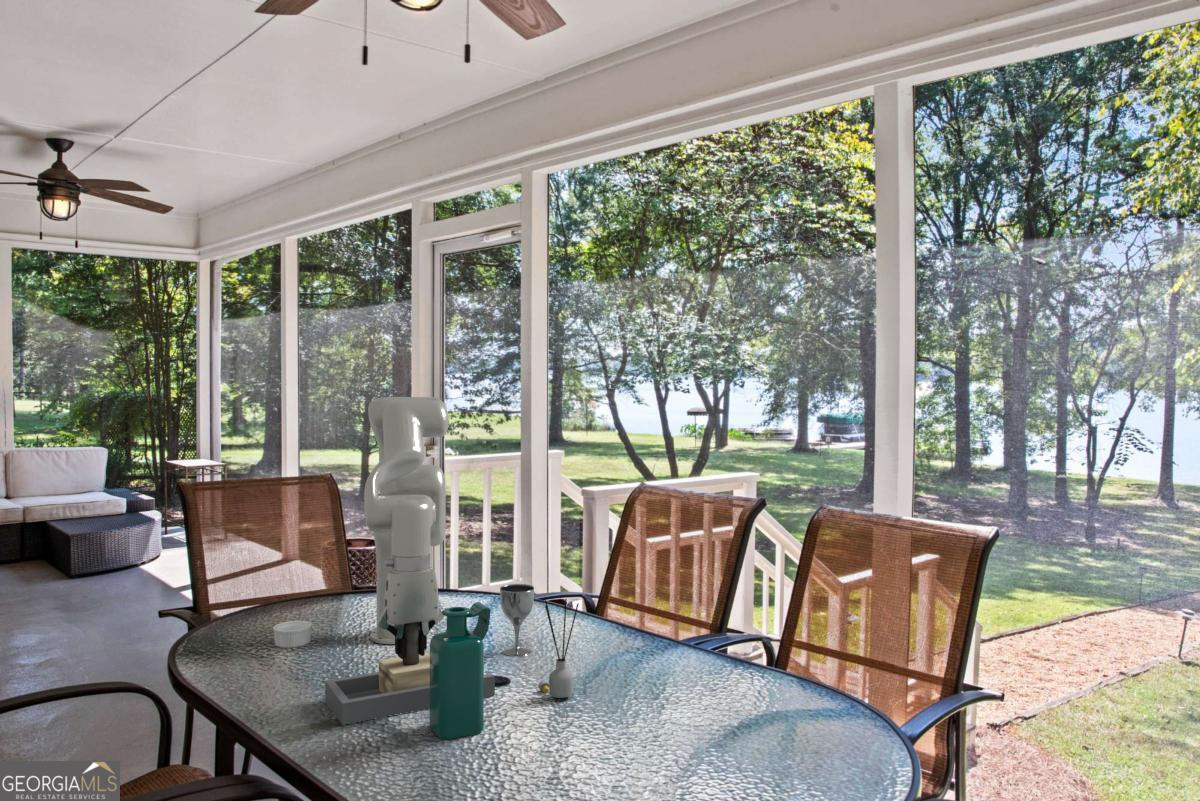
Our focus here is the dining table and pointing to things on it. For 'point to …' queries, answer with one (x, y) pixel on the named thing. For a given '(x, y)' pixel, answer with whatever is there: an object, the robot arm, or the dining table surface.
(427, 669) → the rubber stamp
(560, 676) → the reed diffuser
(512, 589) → the wine glass
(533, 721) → the dining table surface
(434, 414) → the robot arm
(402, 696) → the bay
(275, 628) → the ramekin
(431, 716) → the pitcher
